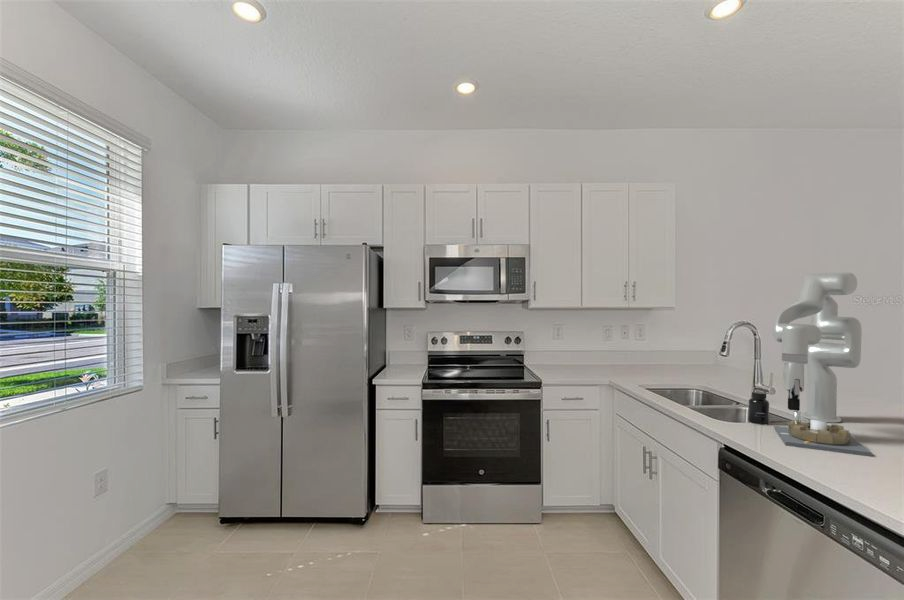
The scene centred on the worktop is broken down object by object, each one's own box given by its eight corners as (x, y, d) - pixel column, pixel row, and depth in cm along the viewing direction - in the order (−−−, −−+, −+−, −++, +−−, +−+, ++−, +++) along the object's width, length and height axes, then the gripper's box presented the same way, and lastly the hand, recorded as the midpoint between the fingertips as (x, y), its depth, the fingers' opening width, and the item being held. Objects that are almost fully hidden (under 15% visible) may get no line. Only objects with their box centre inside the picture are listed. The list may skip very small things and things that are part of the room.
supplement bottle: (759, 425, 175) (759, 394, 175) (743, 420, 182) (744, 391, 182) (773, 424, 177) (773, 393, 177) (757, 419, 184) (757, 390, 184)
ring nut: (785, 428, 167) (785, 406, 167) (841, 434, 159) (841, 411, 159) (794, 439, 152) (794, 416, 152) (856, 447, 145) (856, 422, 145)
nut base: (774, 429, 171) (774, 410, 171) (849, 437, 160) (849, 418, 160) (785, 445, 151) (785, 424, 151) (871, 456, 141) (872, 434, 141)
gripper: (778, 356, 171) (777, 404, 171) (785, 360, 158) (784, 412, 158) (802, 357, 168) (801, 407, 168) (812, 361, 155) (811, 415, 154)
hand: (793, 409), depth 163 cm, fingers closed
